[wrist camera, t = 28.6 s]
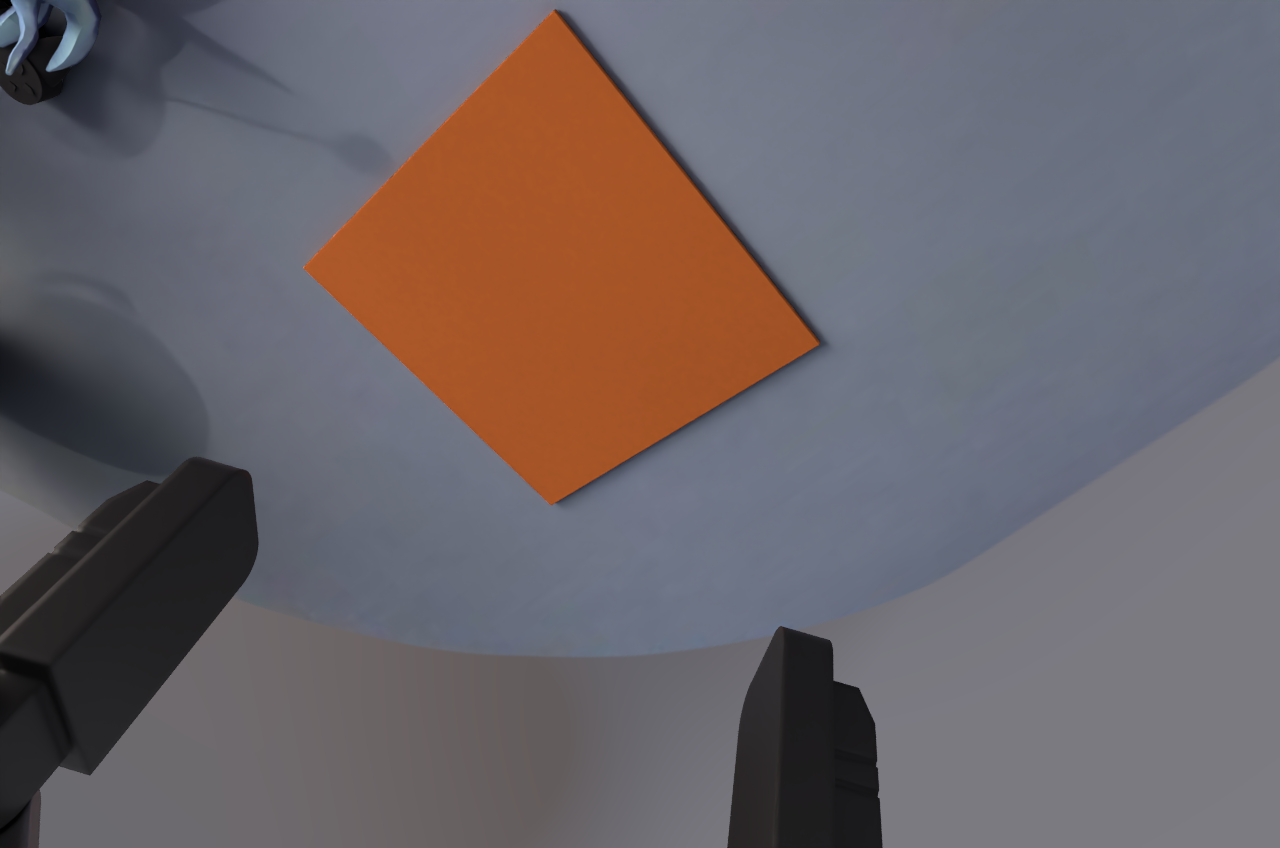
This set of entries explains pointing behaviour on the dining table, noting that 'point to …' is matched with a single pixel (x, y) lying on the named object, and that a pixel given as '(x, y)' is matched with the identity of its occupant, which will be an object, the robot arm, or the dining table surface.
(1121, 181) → the dining table surface
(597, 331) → the towel
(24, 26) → the figurine
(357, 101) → the dining table surface
